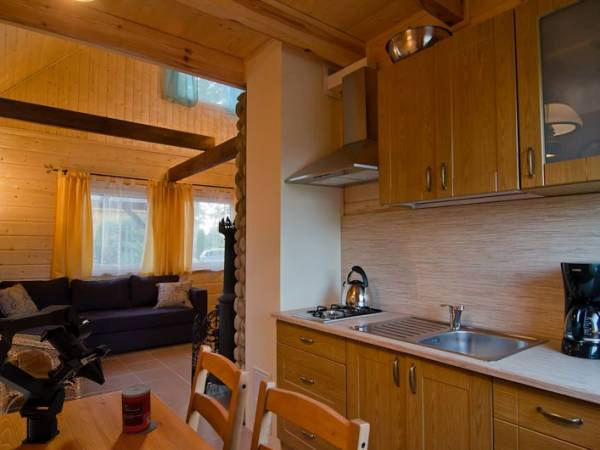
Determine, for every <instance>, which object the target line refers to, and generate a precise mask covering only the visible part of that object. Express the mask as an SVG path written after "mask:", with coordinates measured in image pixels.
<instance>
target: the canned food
mask: <svg viewBox="0 0 600 450" xmlns="http://www.w3.org/2000/svg"><path fill="white" fill-rule="evenodd" d="M151 399H152V397H151V386H150V385H149V384H147V383H137V384H132V385H129V386H127V387H125V388H123V389H122V390H121V424H122V427H121V428H122V431H123V433H125V434H127V435H135V434H137V433H141V432H143V431H145V430H147V429H148V428H149V427H150V424H151V421H152V410H151V409H152V408H151V407H152V401H151Z"/></svg>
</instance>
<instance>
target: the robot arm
mask: <svg viewBox="0 0 600 450" xmlns="http://www.w3.org/2000/svg"><path fill="white" fill-rule="evenodd" d="M47 326H57V327H55V328H52V329H48V328H46V329H45V328H44V330H43V331H42V333H41V335H40V336H41V337H40V339H39V342H40V343H42V344H43V343H44V342H48V344H50V345H51V347H53V349H54V350H55V351H56V352H57V353H58V354H59V355H57V360H58V361H59V365H57V366H56V367H55V368H51V369H50V370H48V372H47V374H46V376H47V377H36V376H35V375H33V374H30V373H29V372H28V371H26V370H24V369H22V368H21V367H19V366H18V365H17V364H15V363H12V362H11V361H10V356H9V354H8V353H9V352H10V351H11V350H12V346H13V341H14V340H13V339H14V337H15V335H16V334H18V333H22V332H26V331H29V330H34V329H38V328H43V327H47ZM92 332H93V326H92V324H91V321H88V320H87V316H84V315H83V316H80V315H79V314H78V312H77V311H76V310H75V307H74V306H73V305H61V304H60V305H54V304H52V305H49V306H47V307H43V308H42V309H41V310H40V311H37V312H33V313H27V314H22V315H16V316H10V317H4V318H3V317H1V318H0V383H1V384H3V385H5V386H7V387H9V388H11V389H13V390H14V391H16V392H18V393H19V394H23V396H24V403H23V405H22V406H21V408H20V410H19V416H20V418H21V419H24V418H25V419H26V436H25V437H26V438H24V439H23V440H21V443H22V444H37V445H39V444H46V443H47V442H49V441H50V440H52V439H53V438H54V437H56V436H57V435H59V434H60V433H61V429H58V425H59V424H58V422H59V419H58V418H57V415H59V414H60V413H62V411H63V409H64V408H63V407H64V405H65V400H66V394H67V393H66V388H65V386H64V383H66V381H69V380H71V379H72V378H73V379H76V378H85V379H88V380H90V381H92V382H93V383H96V384H98V385H100V386H102V385H104V384H105V382H106V380H105V375H104V371H103V367H102V359H103V358H105V356H106V355H107V354H108V353H109V352H110V351H111V348H110V347H109V346H108V345H107V344H101V345H100V346H98V347H96V348H95V349H93V348H91V347H90V348H89V349H87V348H86V347H85V345H84V344H83V342H84V340H83V339H84V338H87V337H89V336H90V335H91V334H92Z"/></svg>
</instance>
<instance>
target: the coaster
mask: <svg viewBox="0 0 600 450" xmlns="http://www.w3.org/2000/svg"><path fill="white" fill-rule="evenodd" d="M157 428H158V422H157V421H154V420H151V424H150V427H149V428H148V429H147V430H145V431H143V432H141V433H137V434H134V435H145V434H149V433H151V432H153V431H155V430H156V429H157Z"/></svg>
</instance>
